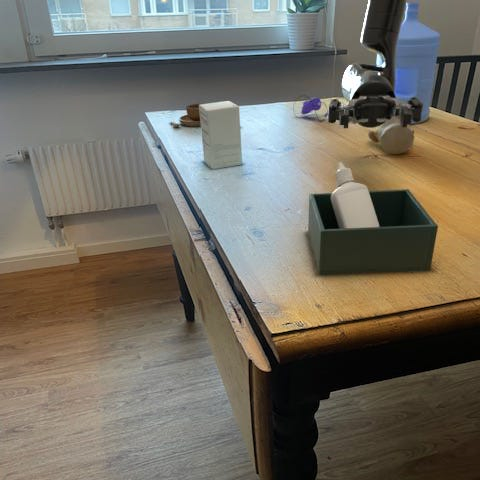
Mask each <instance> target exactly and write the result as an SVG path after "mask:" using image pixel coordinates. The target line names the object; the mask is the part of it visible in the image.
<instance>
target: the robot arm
mask: <svg viewBox="0 0 480 480" xmlns="http://www.w3.org/2000/svg"><path fill="white" fill-rule="evenodd" d="M406 3H407V0H368V4H367V9H366V12H365V17H364V22H363V26H362V30H361V36H360V45H361V47H362V48H364V49H366V50H369V51H370V52H372V53H376V55H377V54H378V55H379V56H380V57H381V59H382V66H379V65H377V64H374V63H372V64H371V63H366V62H353V63H351V64H350V65H348V67H347V68H346V70H345V71H344V74H343V76H342V80H341V91H342V95H343V98H344V99H345V101H346V102H347V104H342V101H341V100H339V99H337V98H334V99H331V100H330V103H329V104H328V109H327V110H328V115H327V123H328V124H335V123H336V122H337V121H338V125H339V126H343V129H349V125H350V124H352V125H356V124H358V125H359V126H361V127H364V128H368V129H373V128H377V127H378V128H379V126H380V125H382V124H384V123H385V122H388V123H397V122H400V124H401V126H402V128H403V127H407V124H411V125H413V124H412V121H414V122H420V121H421V114H422V108H423V104H422V103H421V101H420V100H419V99H418V98H416V97H412V98H410V100H408V103H402V100H401V99H396V96H395V93H394V92H395V87H396V48H397V41H398V37H399V32H400V28H401V24H402V23H403V21H404V17H405V11H406V7H407V5H406ZM401 110H402V111H401Z"/></svg>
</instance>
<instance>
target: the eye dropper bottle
mask: <svg viewBox="0 0 480 480" xmlns="http://www.w3.org/2000/svg"><path fill="white" fill-rule="evenodd" d="M334 177H335V181H336V184H337V188H336V189H334V191H333V192H331V193H332V195H331V202H332V206H333V209H334V213H335V216H336V219H337V223H338V226H339V229H345V228H367V227H380V226H379V223H378V219H377V216H376V213H375V210H374V207H373V203H372V200H371V197H370V194H369V191H370V190H369V188H368V187H367V185H365V184H364V183H359V182H355V180H354V176H353V173H352V170H351V168H349V167H346V166H345V165H344V163H343V162H342V161H340V162H338V163H337V171H336V172H335V173H334Z"/></svg>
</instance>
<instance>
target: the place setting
mask: <svg viewBox="0 0 480 480" xmlns="http://www.w3.org/2000/svg"><path fill="white" fill-rule="evenodd" d="M201 104H202V103H193V104H188V105H186V106H185V109H186V114H184V115H181V116H179V118H178V121H179V123H176V122H173V121H171V122H170V124H173V127H175V128H177V127H180V125H182V126H185V127H193V128H195V127H196V128H198V127H201V123H200V113H199V105H201Z"/></svg>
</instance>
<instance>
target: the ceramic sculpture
mask: <svg viewBox="0 0 480 480" xmlns="http://www.w3.org/2000/svg"><path fill="white" fill-rule="evenodd" d="M368 131H369V132H368V138H369V140H370V141H372V142H373V143H377V144H379V143H380V147H381V148H382V150H383V152H385V153H386V154H389V155H390V154H391V155H395V156H396V155H400V154H405V153H406V152H408V151H409V149H410V148H411V147H412V145H413V143H414V140H415V129H414V130H412V128H411V125H409V124H407V127H403V128H402V126H401V124H400V122H397V123H388V122H385V123H384V124H382V125H380V126H378V128H377V130H376V131H374V130H368Z"/></svg>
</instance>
